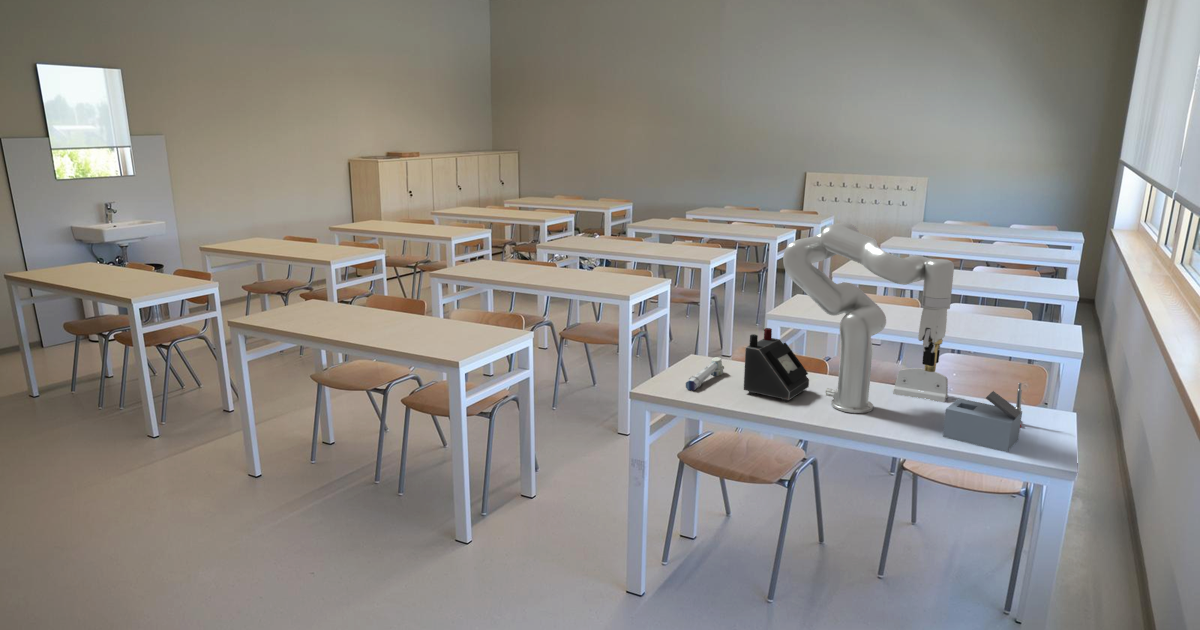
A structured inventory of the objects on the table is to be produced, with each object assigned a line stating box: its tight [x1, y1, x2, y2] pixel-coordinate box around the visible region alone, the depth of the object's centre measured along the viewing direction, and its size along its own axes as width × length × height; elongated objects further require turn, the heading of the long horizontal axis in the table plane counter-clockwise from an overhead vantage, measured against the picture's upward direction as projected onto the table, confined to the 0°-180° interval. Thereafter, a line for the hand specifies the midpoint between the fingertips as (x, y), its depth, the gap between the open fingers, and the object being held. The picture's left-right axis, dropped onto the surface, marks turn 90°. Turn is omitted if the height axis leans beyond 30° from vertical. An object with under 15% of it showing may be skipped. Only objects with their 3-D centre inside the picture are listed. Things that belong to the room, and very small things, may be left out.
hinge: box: [892, 367, 949, 403], centre depth 256 cm, size 17×5×10 cm, turn 59°
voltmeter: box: [743, 327, 810, 403], centre depth 257 cm, size 16×16×20 cm
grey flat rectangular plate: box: [985, 390, 1022, 420], centre depth 215 cm, size 9×6×1 cm, turn 50°
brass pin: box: [922, 338, 943, 372], centre depth 225 cm, size 5×5×10 cm
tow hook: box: [1014, 382, 1023, 428], centre depth 232 cm, size 8×13×9 cm
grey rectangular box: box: [942, 398, 1023, 453], centre depth 220 cm, size 17×12×8 cm
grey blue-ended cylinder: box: [685, 356, 725, 392], centre depth 271 cm, size 5×7×25 cm
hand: (930, 363), depth 226 cm, fingers closed on brass pin, 3 cm apart
